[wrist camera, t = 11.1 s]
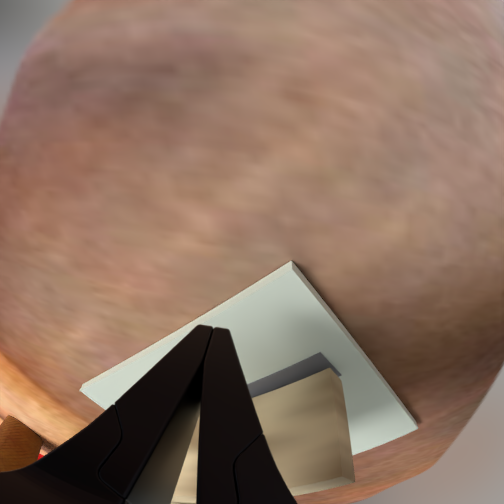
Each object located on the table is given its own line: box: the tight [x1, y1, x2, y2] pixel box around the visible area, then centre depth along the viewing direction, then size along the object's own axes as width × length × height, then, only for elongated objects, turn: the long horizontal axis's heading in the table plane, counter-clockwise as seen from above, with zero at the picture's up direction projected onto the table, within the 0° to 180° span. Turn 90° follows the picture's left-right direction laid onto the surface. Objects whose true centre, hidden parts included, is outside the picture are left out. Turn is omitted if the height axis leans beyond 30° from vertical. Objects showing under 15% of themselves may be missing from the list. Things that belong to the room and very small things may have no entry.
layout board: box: [80, 260, 418, 455], centre depth 15 cm, size 16×16×1 cm
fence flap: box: [171, 368, 355, 503], centre depth 11 cm, size 13×2×6 cm, turn 127°
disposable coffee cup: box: [0, 416, 43, 472], centre depth 21 cm, size 10×10×12 cm
